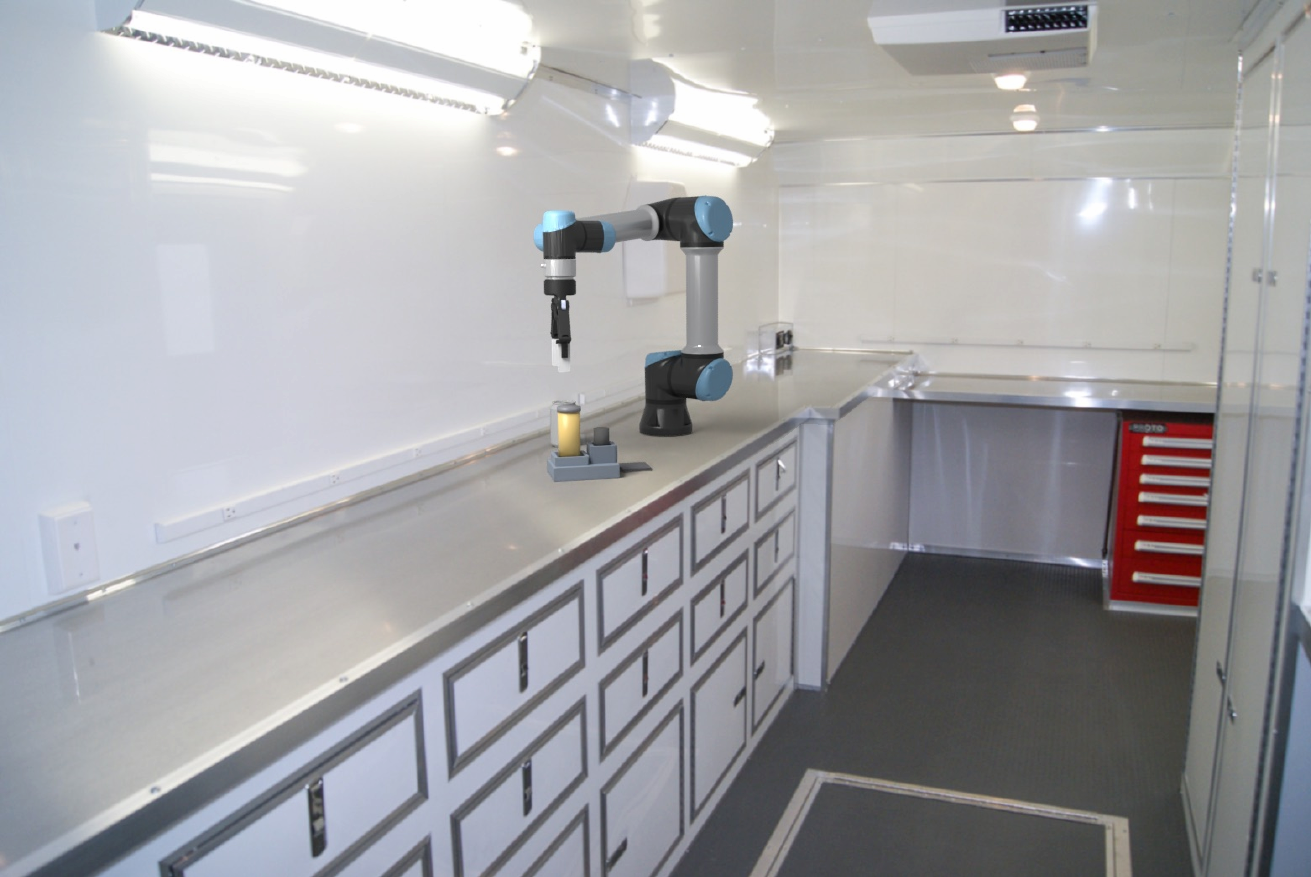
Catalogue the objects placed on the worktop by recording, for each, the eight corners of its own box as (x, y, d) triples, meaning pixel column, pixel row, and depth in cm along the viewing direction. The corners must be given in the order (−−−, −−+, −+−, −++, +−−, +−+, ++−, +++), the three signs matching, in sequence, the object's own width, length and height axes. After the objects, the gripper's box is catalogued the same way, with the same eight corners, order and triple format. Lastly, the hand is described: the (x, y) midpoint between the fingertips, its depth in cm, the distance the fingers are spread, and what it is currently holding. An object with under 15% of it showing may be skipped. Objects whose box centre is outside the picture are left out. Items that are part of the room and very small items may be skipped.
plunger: (607, 448, 241) (607, 426, 240) (610, 450, 238) (610, 429, 237) (592, 448, 240) (592, 427, 239) (595, 451, 237) (595, 430, 236)
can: (581, 443, 277) (580, 399, 275) (576, 448, 270) (575, 403, 267) (553, 443, 278) (552, 398, 276) (548, 448, 270) (547, 403, 268)
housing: (610, 467, 246) (610, 439, 245) (620, 477, 235) (619, 447, 234) (547, 471, 242) (546, 442, 241) (554, 481, 232) (553, 451, 231)
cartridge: (579, 459, 241) (578, 404, 239) (583, 464, 236) (582, 407, 233) (556, 460, 240) (555, 405, 237) (559, 465, 234) (558, 408, 232)
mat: (644, 464, 250) (644, 461, 250) (651, 470, 243) (651, 467, 243) (616, 465, 248) (616, 463, 248) (622, 471, 242) (622, 469, 242)
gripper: (538, 277, 253) (540, 363, 256) (549, 279, 229) (550, 375, 232) (569, 277, 254) (570, 363, 258) (582, 279, 230) (583, 374, 234)
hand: (560, 369), depth 245 cm, fingers open, 13 cm apart
